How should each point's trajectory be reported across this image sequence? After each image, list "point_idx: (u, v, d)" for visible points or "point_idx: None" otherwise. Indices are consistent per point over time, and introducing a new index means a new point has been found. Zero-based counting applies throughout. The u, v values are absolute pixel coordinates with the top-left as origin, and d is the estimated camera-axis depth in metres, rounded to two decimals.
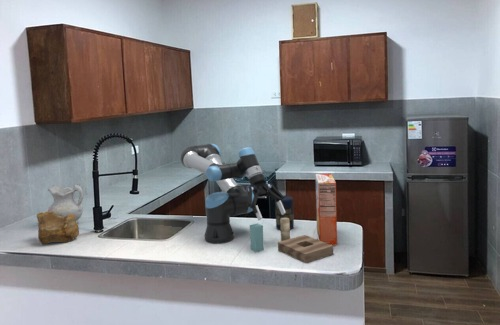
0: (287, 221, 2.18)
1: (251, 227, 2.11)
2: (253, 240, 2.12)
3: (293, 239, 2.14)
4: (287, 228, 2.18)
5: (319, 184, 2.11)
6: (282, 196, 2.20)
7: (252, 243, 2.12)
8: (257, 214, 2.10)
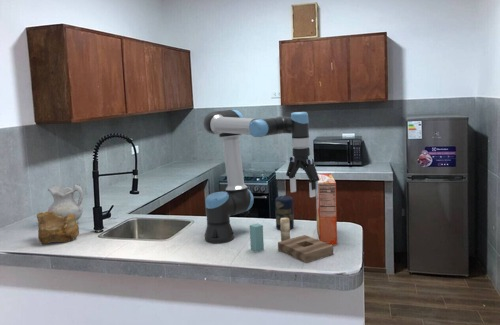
0: (287, 221, 2.18)
1: (251, 227, 2.11)
2: (253, 240, 2.12)
3: (293, 239, 2.14)
4: (287, 228, 2.18)
5: (319, 184, 2.11)
6: (291, 173, 2.10)
7: (252, 243, 2.12)
8: (312, 191, 1.97)
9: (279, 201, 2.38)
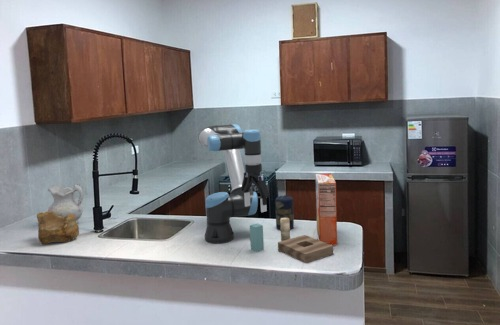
0: (287, 221, 2.18)
1: (251, 227, 2.11)
2: (253, 240, 2.12)
3: (293, 239, 2.14)
4: (287, 228, 2.18)
5: (319, 184, 2.11)
6: None
7: (252, 243, 2.12)
8: (263, 206, 2.04)
9: (279, 201, 2.38)
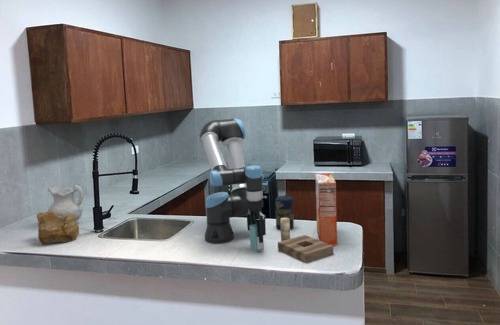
0: (287, 221, 2.18)
1: (251, 227, 2.11)
2: (253, 240, 2.12)
3: (293, 239, 2.14)
4: (287, 228, 2.18)
5: (319, 184, 2.11)
6: None
7: (252, 243, 2.12)
8: (260, 243, 2.11)
9: (279, 201, 2.38)
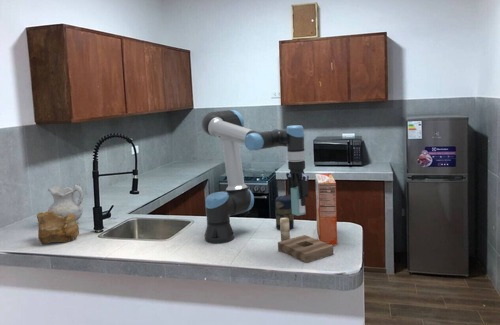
0: (287, 221, 2.18)
1: (292, 190, 2.02)
2: (294, 203, 2.03)
3: (293, 239, 2.14)
4: (287, 228, 2.18)
5: (319, 184, 2.11)
6: None
7: (293, 207, 2.03)
8: (302, 207, 2.02)
9: (279, 201, 2.38)
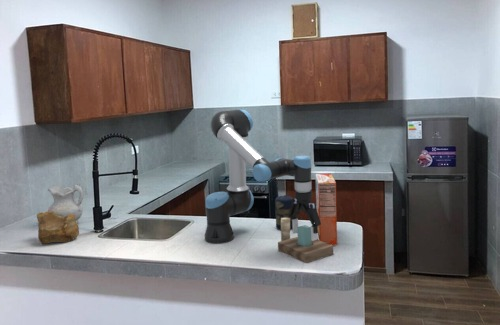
0: (288, 221, 2.18)
1: (299, 229, 2.05)
2: (301, 242, 2.05)
3: (293, 239, 2.14)
4: (288, 228, 2.18)
5: (319, 184, 2.11)
6: None
7: (300, 245, 2.06)
8: (314, 234, 2.00)
9: (279, 201, 2.38)
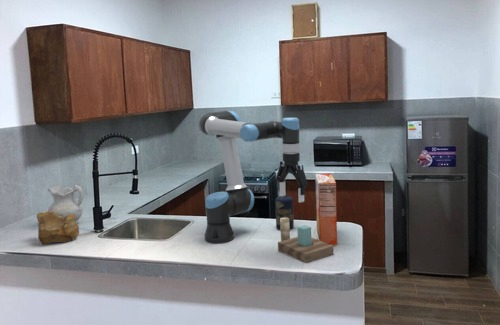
0: (287, 220, 2.18)
1: (299, 229, 2.05)
2: (301, 242, 2.05)
3: (293, 239, 2.14)
4: (287, 227, 2.19)
5: (319, 184, 2.11)
6: None
7: (300, 245, 2.06)
8: (301, 196, 2.00)
9: (279, 201, 2.38)
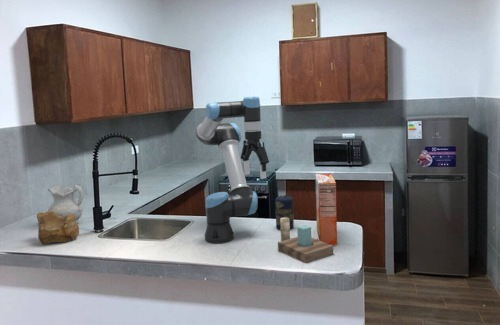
0: (288, 220, 2.18)
1: (299, 229, 2.05)
2: (301, 242, 2.05)
3: (293, 239, 2.14)
4: (288, 227, 2.19)
5: (319, 184, 2.11)
6: None
7: (300, 245, 2.06)
8: (263, 172, 2.04)
9: (279, 201, 2.38)
